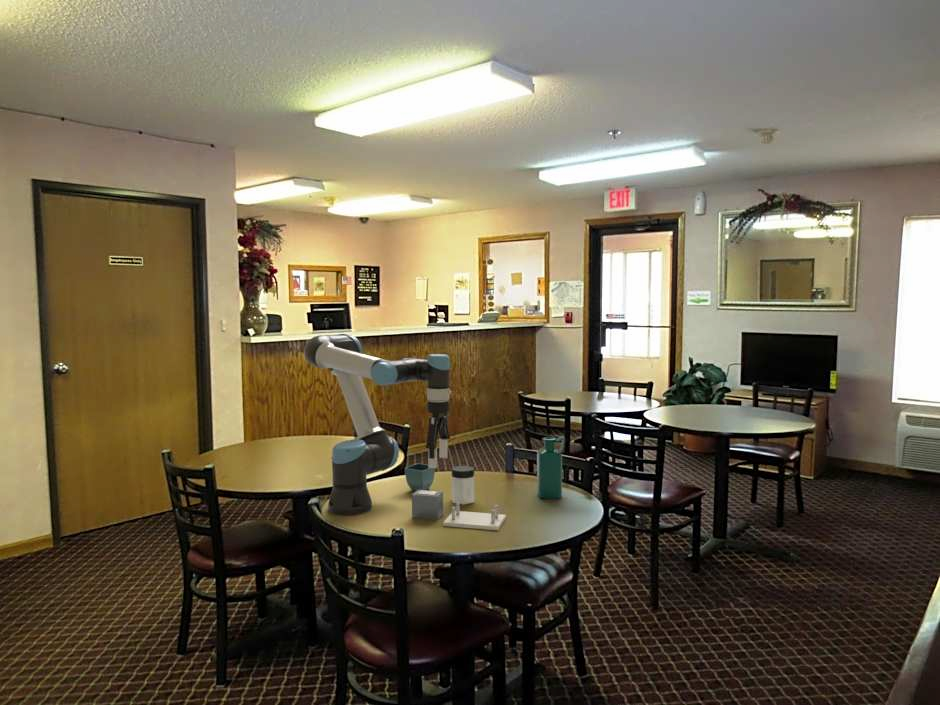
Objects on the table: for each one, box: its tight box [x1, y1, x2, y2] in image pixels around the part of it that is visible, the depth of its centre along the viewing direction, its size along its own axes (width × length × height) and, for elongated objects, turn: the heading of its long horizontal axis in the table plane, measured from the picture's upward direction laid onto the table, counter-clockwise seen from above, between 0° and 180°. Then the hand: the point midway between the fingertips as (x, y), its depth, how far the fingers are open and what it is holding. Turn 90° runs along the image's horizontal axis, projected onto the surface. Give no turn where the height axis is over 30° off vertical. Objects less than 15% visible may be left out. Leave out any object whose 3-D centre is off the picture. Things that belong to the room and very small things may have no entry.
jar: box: [451, 465, 475, 506], centre depth 233 cm, size 9×8×12 cm
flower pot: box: [404, 462, 436, 492], centre depth 248 cm, size 9×9×9 cm
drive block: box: [411, 489, 444, 521], centre depth 217 cm, size 9×6×8 cm, turn 75°
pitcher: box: [536, 435, 567, 500], centre depth 239 cm, size 10×8×22 cm
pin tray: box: [442, 502, 507, 531], centre depth 211 cm, size 18×12×5 cm, turn 75°
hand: (438, 462), depth 218 cm, fingers open, 13 cm apart
